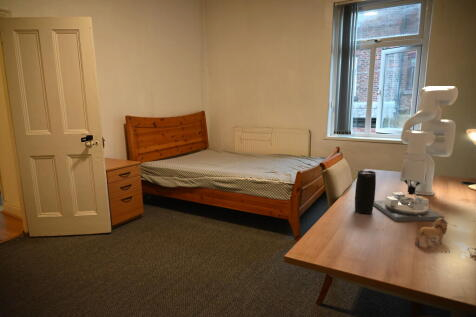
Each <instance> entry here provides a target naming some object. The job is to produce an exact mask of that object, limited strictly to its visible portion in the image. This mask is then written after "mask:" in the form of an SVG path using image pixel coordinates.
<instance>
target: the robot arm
mask: <svg viewBox="0 0 476 317" xmlns="http://www.w3.org/2000/svg"><path fill="white" fill-rule="evenodd" d="M458 95H459V89H458V88H457V87H456V86H453V85H447V86H446V85H445V86H442V85H441V86H438V85H437V86H435V85H434V86H425V87H423V88H421V89H420V92H419V96H420V100H419V104H418V108H417V111H416V113H414V114H413V115H411V116H409V118H407V120H406V121H405V122H404V124H403V128H402V131H401V135H400V140H401V142H402V143H403V144H405V145H407V151H406V153H403V157H405V159H403V163H402V167H401V171H400V181H401V182H404V183H405V184H406V186H407V193H408V195H411V196H413V195H414V194H416V195H419V196H433V195H435V191H434V190H433V182H434V174H435V168H436V167H435V166H436V163H435V160H434V159H433V156H435V157H443V158H445V157H446V158H447V157H450V156H452V153H453V151H454V150H453V149H454V143H455V137H456V129H457V128H456V126H457V124H456V122H455V121H454V120H451V119H443V118H442V119H441V117H442V112H443V110H442V108H441V106H451V105H453V104H454V103H455V102H456V100H457V99H458ZM419 124H421V129H411V128H413V127H415V126H416V125H419ZM436 137H440V138H436ZM442 138H444V139H442Z"/></svg>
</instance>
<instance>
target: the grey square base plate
mask: <svg viewBox="0 0 476 317" xmlns="http://www.w3.org/2000/svg"><path fill="white" fill-rule="evenodd" d="M373 207H375V208H376V209H377V210H379V211H381V212H382V213H384V215H386V216H387V217H389V218H390V219H392V220H393V221H395V222H435V221H436V219H438V218H443V219H445V216H444V215H442V214H441V213H438V212H437V211H435V210H433V209H431V208H428V213H426V214H421V215H413V214H405V213H400V212H396V211H393V210H391V209H389V208H387V207H386V206H385V200H374V206H373Z"/></svg>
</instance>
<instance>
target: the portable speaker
mask: <svg viewBox="0 0 476 317" xmlns="http://www.w3.org/2000/svg"><path fill="white" fill-rule="evenodd" d="M355 181H356V182H355V191H354V193H355V195H354V212H356V213H358V214H361V213H364V214H365V213H366V214H367V215H371V214H373V211H374V210H373V209H374V207H375V206H374V201H376V198H375V197H376V186H377V184H376V183H377V174H376V171H374V170H358V171H357V177H356V180H355Z"/></svg>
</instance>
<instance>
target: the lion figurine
mask: <svg viewBox="0 0 476 317" xmlns="http://www.w3.org/2000/svg"><path fill="white" fill-rule="evenodd" d="M447 227H448V222H447V221H446V219H445V218H444V219H443V218H438V219H436V221H434V225H433V226H431V227H430V226H429V227H428V226H423V227H421V228H420V230H419V232H418V235H417V236H416V238H415V242H414V244H415V245H416V246H418V247H419V246H420V239H421V238H422V237H423V236H424V239H425V241H424V243H425V245H426V246H427V247H432V245H431V243H429V241H432V242H436V241H435V238H437V237H438V240H437V242H438V244H439V245H443V242H442V240H443V235H446V233H447V229H448V228H447ZM430 238H431V239H430Z"/></svg>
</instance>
